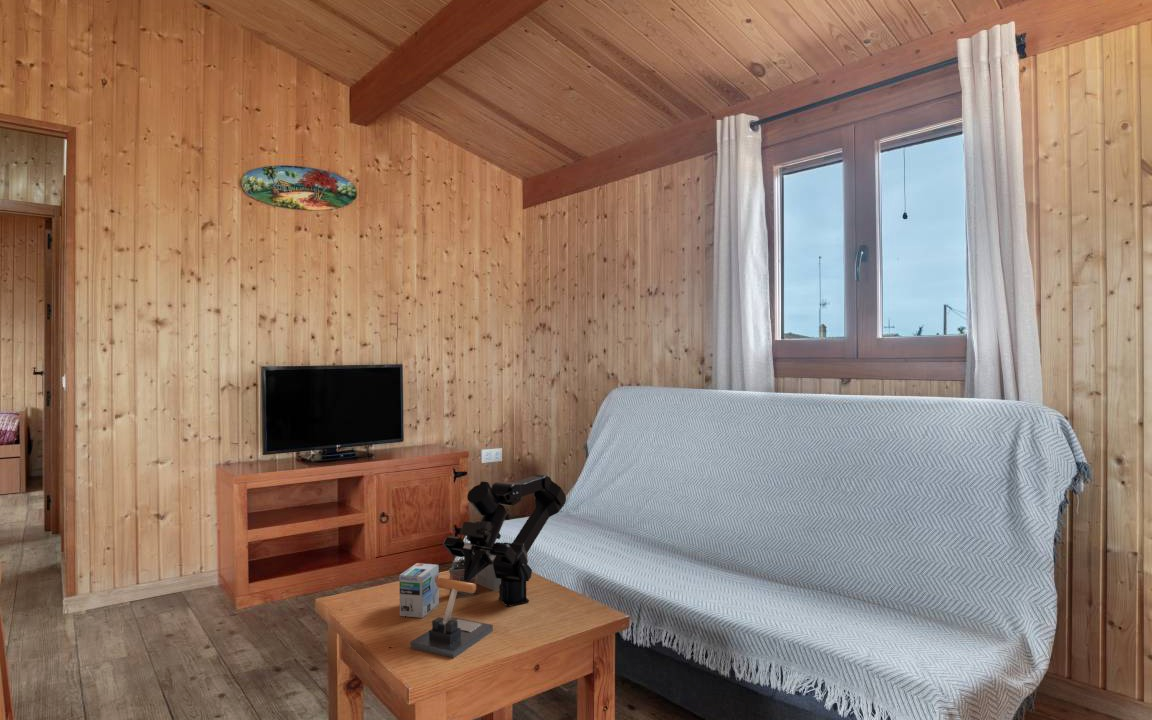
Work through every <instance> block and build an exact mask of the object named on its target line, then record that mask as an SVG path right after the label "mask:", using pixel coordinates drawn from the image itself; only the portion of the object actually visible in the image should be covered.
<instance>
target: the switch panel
mask: <svg viewBox="0 0 1152 720" xmlns="http://www.w3.org/2000/svg"><path fill="white" fill-rule="evenodd" d="M443 619H444V617H439V616H438V617H437V618H435V619H433V620H431V621H432V622H431V626H432V627H431V628H430V629H429V630H428V631H426V632H425V633H423V634H421V635H420V636H418V637H416V638H414V639H413V640H411V641H410V647H409V648H410V649H412V650H416V651H420V652H425V653H428V654H429V653H430V654H433V655H437V656H442V657H447V658H451V659H454V658H456V657H457V656H459V655H460V654H462V653H464V652H465V651H466V650H467V649H470V647H472V646H473V645H475V644H476V643H477V642H479V641H481V640H482V639H483V638H485V637H486V636H488V635H489V634H491V633H492V632H493V631H494V630H493V629H494V628H493V627H494V625H493V624H489V623H486V622H485V623H484V622H480V621H475V620H469V619H464V618H460V617H456V616H450V620H449V622H447V623H446V625H444V624H443Z"/></svg>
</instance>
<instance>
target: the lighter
mask: <svg viewBox="0 0 1152 720" xmlns="http://www.w3.org/2000/svg"><path fill="white" fill-rule="evenodd" d="M452 563H453V567H451V568H449V569H448V572H449V579H450V580H456V581H462V582H465V581H464V570H465V559H464V557H459V559H458V560H457V559H456V560H453V561H452ZM468 583H474V584H476V591H475V592H474V593H468V592H462V591H457V595H456V598H462V597H470V596H475V595H476V594H479V590H478V584H477V575H476V576H474V577H473V578H472V579H471V580H470V581H469V582H468ZM451 591H452V590H450V589H449V595H448V596H449V597H450V594H451Z"/></svg>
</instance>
